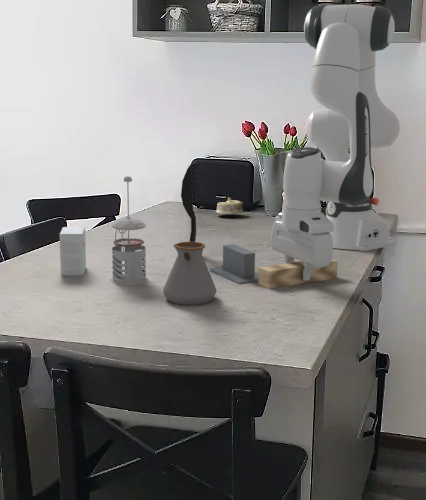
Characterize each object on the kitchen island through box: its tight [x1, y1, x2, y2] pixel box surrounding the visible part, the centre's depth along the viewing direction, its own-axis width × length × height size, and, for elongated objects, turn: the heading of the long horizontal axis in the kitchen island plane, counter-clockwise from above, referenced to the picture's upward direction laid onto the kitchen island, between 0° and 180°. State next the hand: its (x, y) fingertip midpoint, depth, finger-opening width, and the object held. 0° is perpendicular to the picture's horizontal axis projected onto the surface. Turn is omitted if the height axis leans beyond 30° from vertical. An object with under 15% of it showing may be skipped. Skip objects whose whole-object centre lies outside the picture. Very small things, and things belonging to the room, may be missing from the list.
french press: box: [109, 175, 149, 286], centre depth 175 cm, size 10×12×25 cm
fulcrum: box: [209, 243, 259, 285], centre depth 181 cm, size 8×14×7 cm, turn 29°
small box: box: [59, 226, 87, 276], centre depth 183 cm, size 8×6×10 cm
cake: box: [215, 196, 245, 215], centre depth 263 cm, size 10×10×5 cm
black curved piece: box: [180, 161, 200, 242], centre depth 200 cm, size 8×4×25 cm, turn 166°
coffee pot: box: [162, 241, 217, 306], centre depth 155 cm, size 21×12×15 cm, turn 178°
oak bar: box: [257, 258, 339, 290], centre depth 176 cm, size 20×4×5 cm, turn 121°
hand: (298, 276), depth 177 cm, fingers closed on oak bar, 4 cm apart
